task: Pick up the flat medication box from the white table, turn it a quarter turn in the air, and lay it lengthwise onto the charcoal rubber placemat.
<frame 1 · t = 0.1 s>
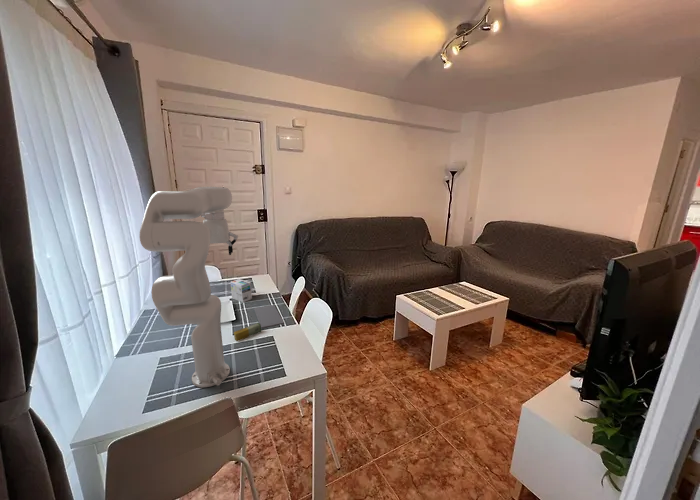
hand: (218, 254, 124), 37 cm above the table, tool pointing down, fingers open, 9 cm apart
medication box: (248, 336, 129), on the table
placemat: (268, 316, 147), on the table
light bulb box: (241, 299, 167), on the table
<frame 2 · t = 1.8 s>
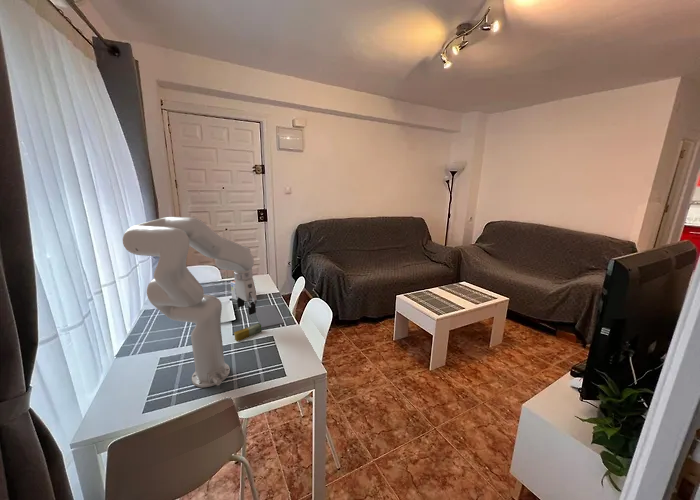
hand: (246, 309, 127), 13 cm above the table, tool pointing down, fingers open, 9 cm apart
nothing on the table moved.
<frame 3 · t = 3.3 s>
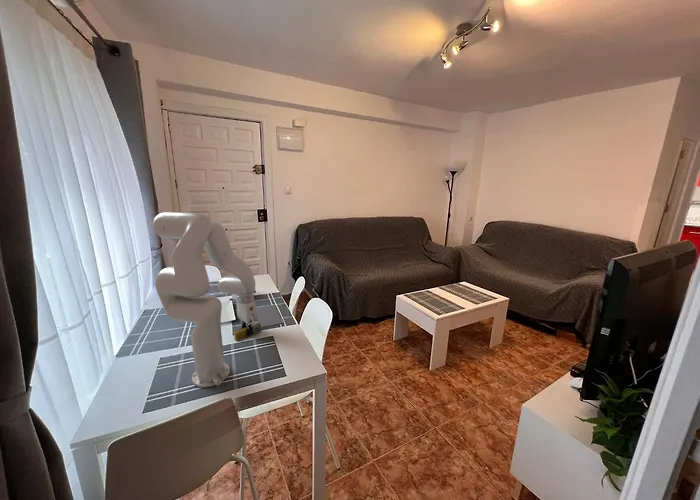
hand: (247, 333, 129), 1 cm above the table, tool pointing down, fingers closed on medication box, 3 cm apart
medication box: (248, 335, 129), on the table, touching gripper
everything else where it was.
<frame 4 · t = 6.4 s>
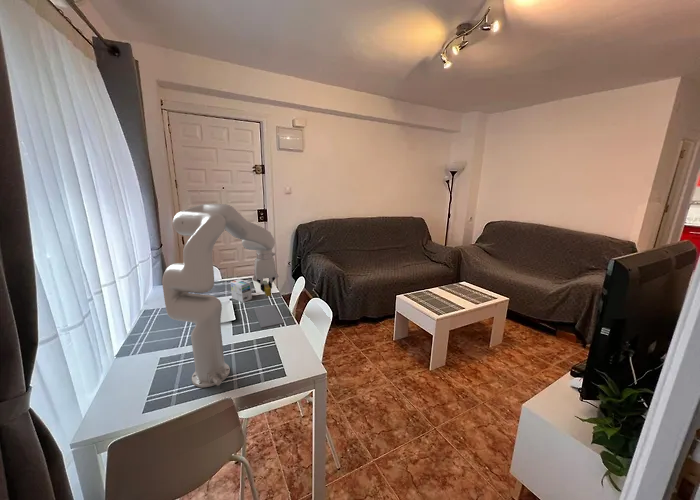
hand: (266, 290, 143), 15 cm above the table, tool pointing down, fingers closed on medication box, 2 cm apart
medication box: (266, 292, 143), point 14 cm above the table, touching gripper
everything else where it was.
when the fingers open (2 cm above the table, at t = 8.8 s): medication box stays where it is, resting on placemat.
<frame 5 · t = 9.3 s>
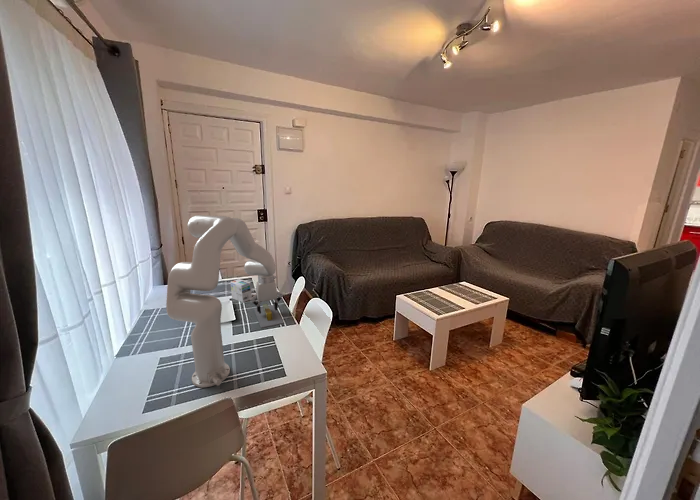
hand: (267, 310, 146), 3 cm above the table, tool pointing down, fingers open, 7 cm apart
medication box: (267, 315, 147), resting on placemat
everything else where it was.
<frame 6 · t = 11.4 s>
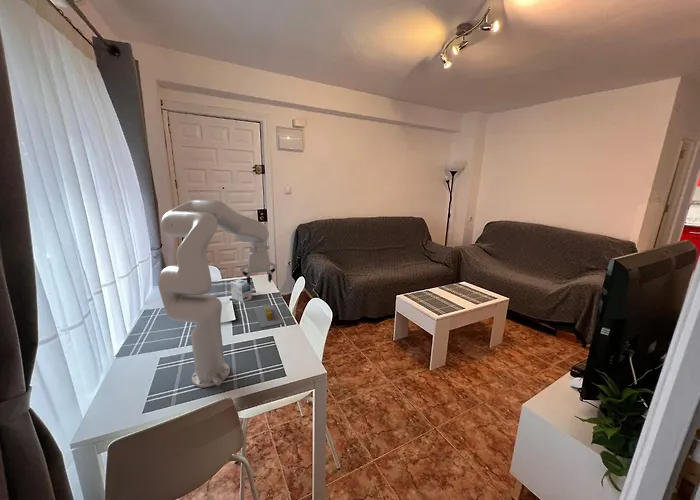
hand: (259, 282, 138), 20 cm above the table, tool pointing down, fingers open, 9 cm apart
nothing on the table moved.
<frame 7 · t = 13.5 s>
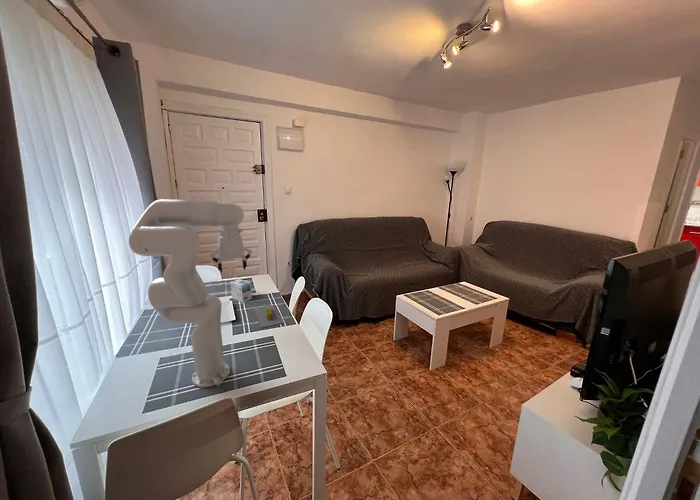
hand: (232, 270, 125), 30 cm above the table, tool pointing down, fingers open, 9 cm apart
nothing on the table moved.
at the end: medication box 0.0 cm off-centre on the placemat, point 0.4 cm above the placemat's base; medication box tilted 0°; the gripper is holding nothing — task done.
